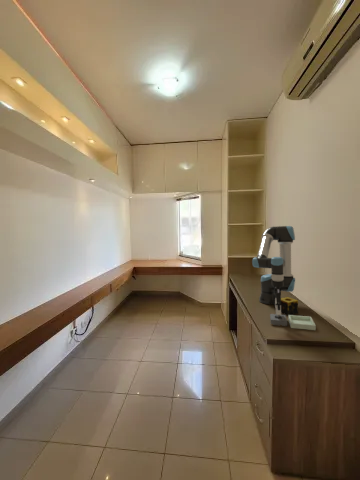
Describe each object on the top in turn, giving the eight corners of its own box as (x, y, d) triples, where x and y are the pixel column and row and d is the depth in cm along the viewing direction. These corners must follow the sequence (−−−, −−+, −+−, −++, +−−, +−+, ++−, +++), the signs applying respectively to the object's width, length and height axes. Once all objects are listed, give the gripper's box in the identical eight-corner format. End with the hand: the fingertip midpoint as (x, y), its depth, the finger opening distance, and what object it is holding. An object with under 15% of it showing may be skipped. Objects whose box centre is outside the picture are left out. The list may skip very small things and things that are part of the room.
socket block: (270, 318, 162) (270, 313, 161) (285, 319, 158) (285, 315, 158) (270, 324, 152) (270, 319, 152) (287, 326, 149) (287, 321, 149)
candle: (277, 311, 174) (277, 298, 174) (287, 308, 178) (287, 296, 177) (288, 316, 165) (287, 302, 164) (298, 313, 168) (298, 300, 168)
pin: (275, 321, 157) (275, 304, 156) (280, 321, 156) (280, 304, 155) (276, 322, 154) (275, 305, 154) (280, 323, 153) (280, 306, 153)
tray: (288, 319, 160) (288, 314, 159) (311, 320, 155) (310, 316, 155) (290, 327, 146) (290, 323, 146) (315, 330, 142) (315, 325, 142)
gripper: (270, 275, 166) (271, 304, 168) (272, 284, 143) (273, 317, 144) (281, 276, 164) (282, 305, 165) (285, 284, 140) (286, 318, 142)
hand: (278, 310), depth 155 cm, fingers open, 13 cm apart
